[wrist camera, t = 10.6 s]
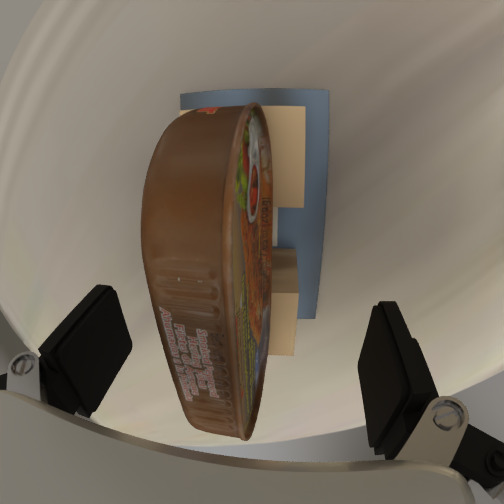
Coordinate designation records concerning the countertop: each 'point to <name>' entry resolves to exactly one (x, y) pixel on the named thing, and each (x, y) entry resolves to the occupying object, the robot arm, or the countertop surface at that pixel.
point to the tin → (212, 261)
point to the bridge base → (314, 177)
